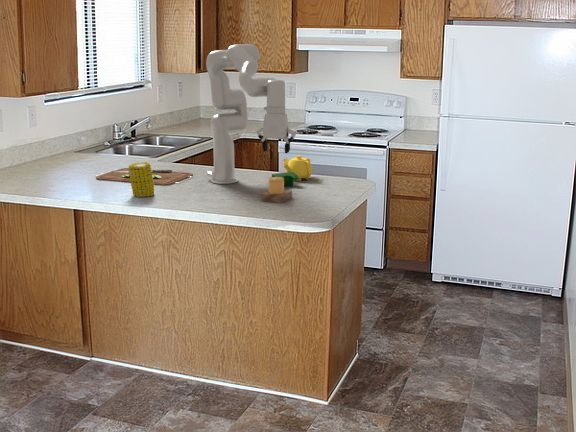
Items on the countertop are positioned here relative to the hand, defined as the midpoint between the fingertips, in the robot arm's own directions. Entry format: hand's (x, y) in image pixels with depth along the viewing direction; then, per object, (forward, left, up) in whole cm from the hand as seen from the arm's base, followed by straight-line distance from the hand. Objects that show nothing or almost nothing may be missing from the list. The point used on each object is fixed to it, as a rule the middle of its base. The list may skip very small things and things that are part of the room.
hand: (276, 151), depth 313 cm
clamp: (-6, +25, -21) cm, 33 cm away
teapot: (-7, +42, -21) cm, 47 cm away
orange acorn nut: (0, 0, -17) cm, 17 cm away
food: (-56, -15, -21) cm, 62 cm away
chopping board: (-76, +19, -21) cm, 81 cm away
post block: (0, 0, -20) cm, 20 cm away
